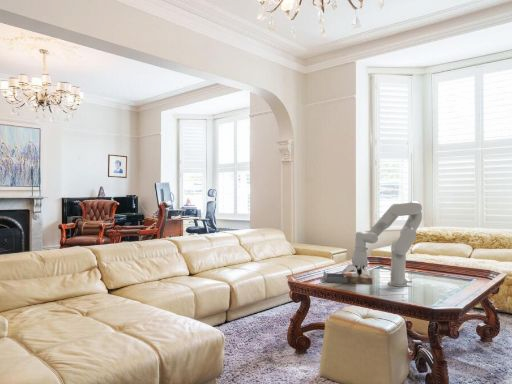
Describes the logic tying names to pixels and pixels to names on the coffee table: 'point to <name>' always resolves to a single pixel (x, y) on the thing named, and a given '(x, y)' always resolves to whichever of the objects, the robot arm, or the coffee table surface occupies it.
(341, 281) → the box
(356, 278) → the plate
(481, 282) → the coffee table surface
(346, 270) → the mask
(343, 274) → the tile
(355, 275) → the tile
